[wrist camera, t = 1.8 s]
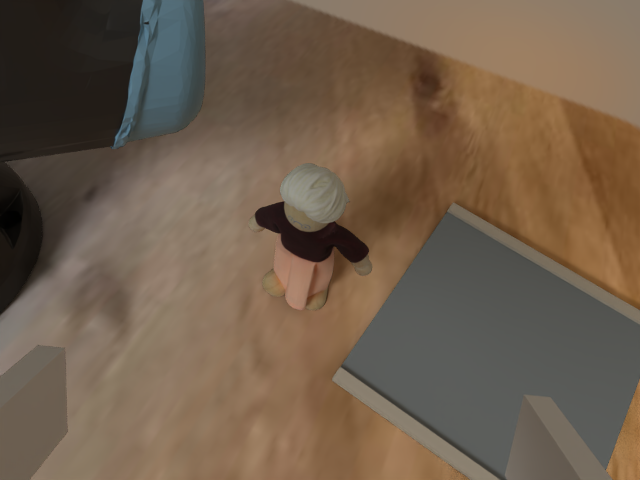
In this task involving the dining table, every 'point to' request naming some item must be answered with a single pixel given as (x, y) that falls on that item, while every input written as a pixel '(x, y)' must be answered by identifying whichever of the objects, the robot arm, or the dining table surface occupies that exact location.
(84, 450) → the dining table surface
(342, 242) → the grandmother figurine
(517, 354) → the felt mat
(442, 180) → the dining table surface
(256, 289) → the dining table surface
